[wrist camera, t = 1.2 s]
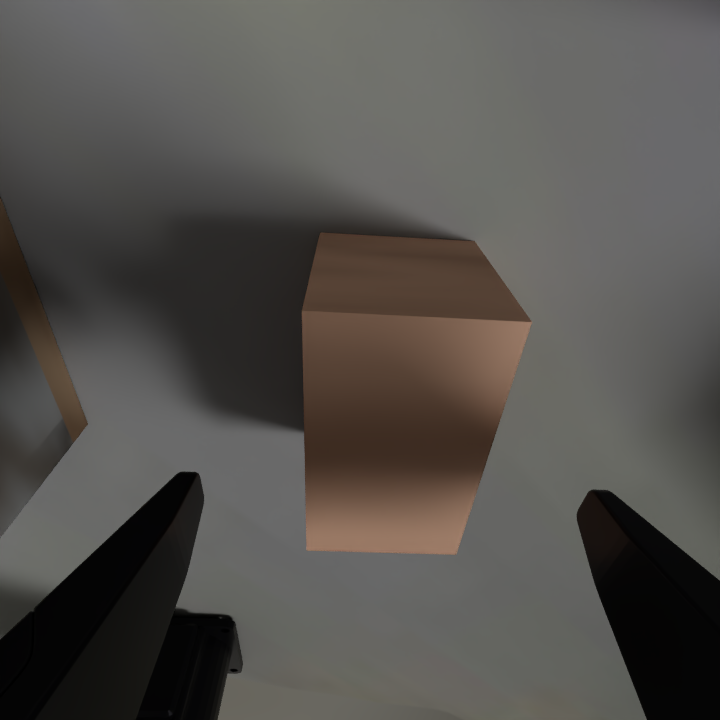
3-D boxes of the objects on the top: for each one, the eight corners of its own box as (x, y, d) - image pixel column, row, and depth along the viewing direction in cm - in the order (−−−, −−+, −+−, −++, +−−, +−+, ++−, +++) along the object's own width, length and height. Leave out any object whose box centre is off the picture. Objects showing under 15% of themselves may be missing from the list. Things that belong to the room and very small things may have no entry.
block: (431, 436, 17) (456, 554, 13) (319, 432, 17) (306, 550, 13) (473, 239, 12) (531, 322, 8) (320, 231, 12) (301, 310, 8)
